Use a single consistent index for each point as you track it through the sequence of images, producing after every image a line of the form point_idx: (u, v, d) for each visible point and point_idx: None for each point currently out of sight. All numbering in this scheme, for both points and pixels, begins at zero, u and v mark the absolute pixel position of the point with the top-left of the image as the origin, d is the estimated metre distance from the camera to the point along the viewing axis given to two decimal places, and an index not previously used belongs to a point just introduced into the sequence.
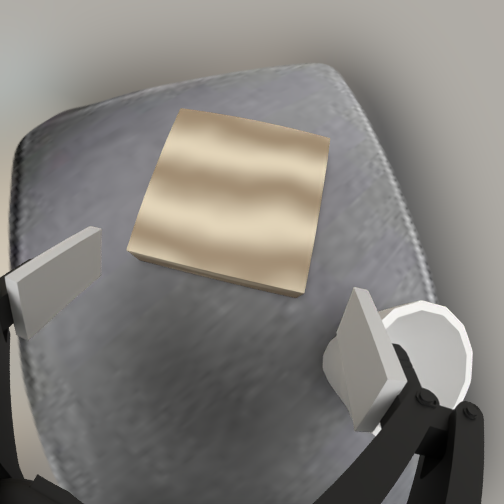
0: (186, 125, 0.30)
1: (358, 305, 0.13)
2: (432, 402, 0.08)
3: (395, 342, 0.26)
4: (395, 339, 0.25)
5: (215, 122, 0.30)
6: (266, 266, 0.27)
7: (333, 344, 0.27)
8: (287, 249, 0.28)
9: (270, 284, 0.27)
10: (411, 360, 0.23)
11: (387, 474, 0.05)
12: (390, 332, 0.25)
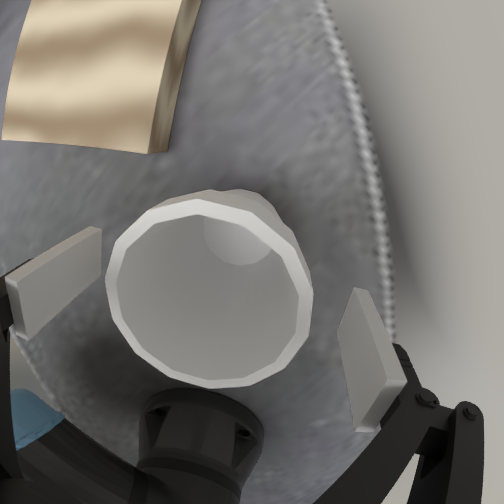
0: None
1: (358, 305, 0.13)
2: (432, 402, 0.08)
3: None
4: None
5: None
6: (106, 128, 0.20)
7: None
8: (128, 104, 0.19)
9: (111, 147, 0.20)
10: None
11: (387, 474, 0.05)
12: None
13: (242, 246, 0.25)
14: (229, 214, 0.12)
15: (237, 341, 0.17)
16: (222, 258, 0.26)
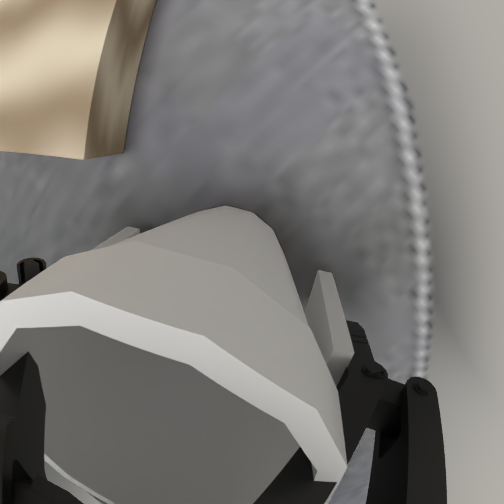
0: None
1: (319, 285, 0.14)
2: (380, 373, 0.09)
3: None
4: None
5: None
6: (34, 124, 0.12)
7: None
8: (59, 88, 0.11)
9: (40, 152, 0.13)
10: None
11: None
12: None
13: None
14: (149, 336, 0.04)
15: (214, 459, 0.10)
16: None
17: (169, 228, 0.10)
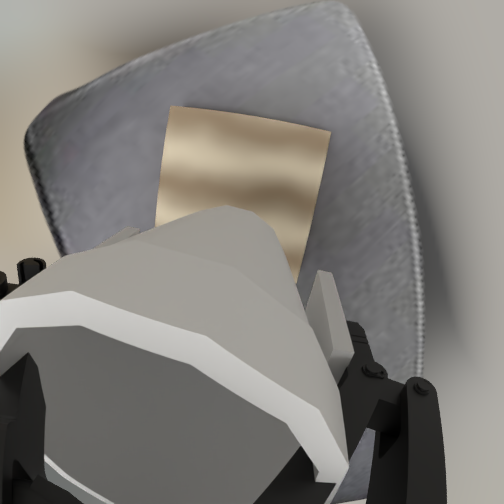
0: (180, 127, 0.29)
1: (319, 285, 0.14)
2: (380, 373, 0.09)
3: None
4: None
5: (208, 121, 0.29)
6: None
7: None
8: (283, 250, 0.33)
9: None
10: None
11: None
12: None
13: None
14: (150, 336, 0.04)
15: (214, 459, 0.10)
16: None
17: (169, 227, 0.10)
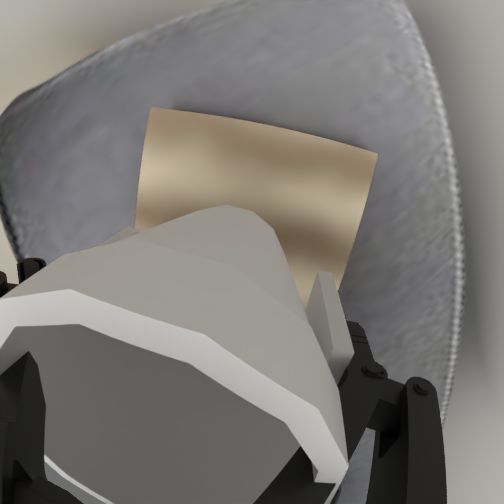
0: (163, 138, 0.21)
1: (319, 285, 0.14)
2: (380, 372, 0.09)
3: None
4: None
5: (204, 131, 0.20)
6: None
7: None
8: None
9: None
10: None
11: None
12: None
13: None
14: (148, 334, 0.04)
15: (214, 459, 0.10)
16: None
17: (169, 227, 0.10)
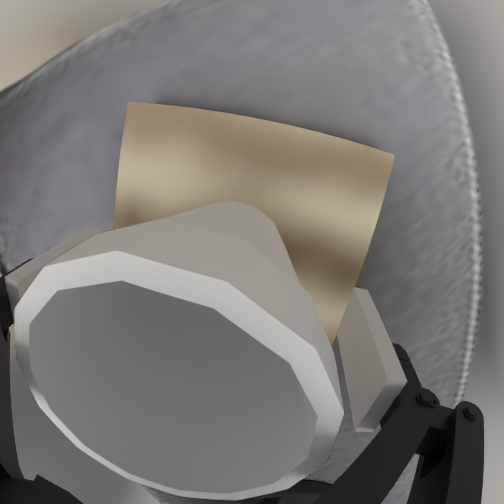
0: (143, 137, 0.17)
1: (358, 305, 0.13)
2: (432, 402, 0.08)
3: None
4: None
5: (189, 128, 0.17)
6: None
7: None
8: None
9: None
10: None
11: (387, 474, 0.05)
12: None
13: None
14: (182, 284, 0.06)
15: (221, 430, 0.11)
16: None
17: (184, 215, 0.11)
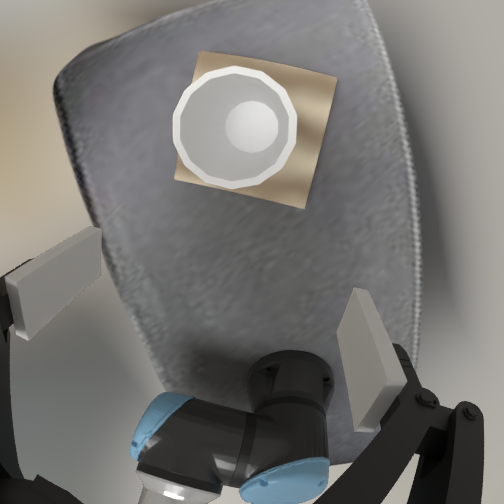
0: (207, 69, 0.32)
1: (358, 305, 0.13)
2: (433, 402, 0.08)
3: (275, 109, 0.29)
4: (273, 106, 0.29)
5: (232, 64, 0.31)
6: (277, 189, 0.36)
7: None
8: (293, 177, 0.36)
9: (280, 202, 0.37)
10: (281, 125, 0.28)
11: (387, 474, 0.05)
12: (266, 99, 0.28)
13: (253, 138, 0.34)
14: (251, 72, 0.20)
15: (251, 170, 0.26)
16: (238, 147, 0.34)
17: None
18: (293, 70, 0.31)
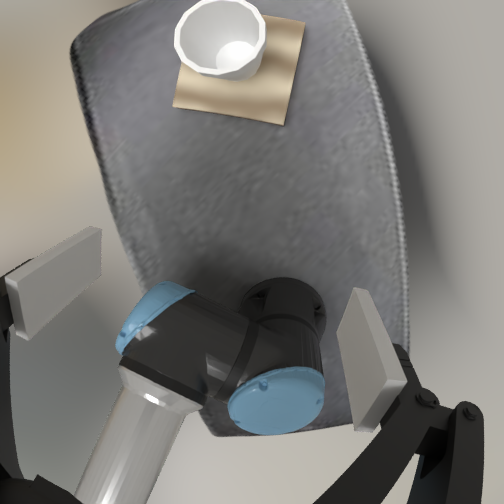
0: None
1: (358, 305, 0.13)
2: (432, 402, 0.08)
3: (254, 40, 0.33)
4: (252, 37, 0.33)
5: None
6: (259, 109, 0.40)
7: None
8: (272, 98, 0.40)
9: (262, 119, 0.41)
10: None
11: (387, 474, 0.05)
12: (246, 32, 0.32)
13: None
14: None
15: None
16: None
17: None
18: (269, 18, 0.35)
